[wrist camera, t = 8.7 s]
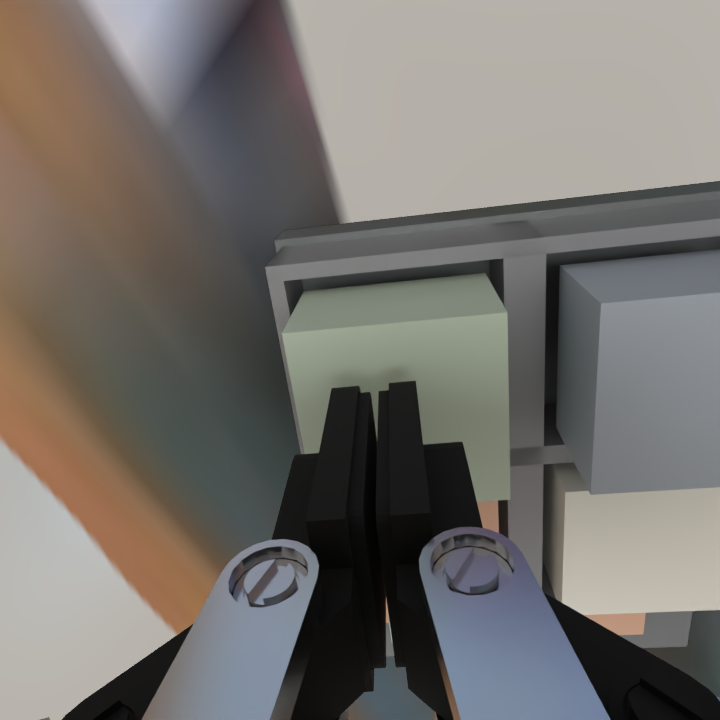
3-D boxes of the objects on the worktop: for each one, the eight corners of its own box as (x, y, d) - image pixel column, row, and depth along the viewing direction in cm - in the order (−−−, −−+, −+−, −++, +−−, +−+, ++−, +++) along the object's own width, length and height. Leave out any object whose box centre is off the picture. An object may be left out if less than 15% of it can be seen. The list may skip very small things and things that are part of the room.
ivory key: (690, 422, 17) (746, 481, 15) (674, 538, 19) (721, 609, 16) (539, 433, 18) (565, 492, 15) (538, 545, 20) (561, 615, 17)
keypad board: (729, 180, 16) (823, 198, 12) (669, 614, 23) (718, 705, 19) (283, 230, 17) (255, 259, 14) (352, 625, 24) (345, 713, 20)
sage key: (485, 272, 14) (507, 312, 11) (490, 431, 16) (510, 499, 13) (303, 291, 14) (281, 333, 12) (329, 443, 16) (315, 511, 13)
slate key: (759, 245, 13) (855, 279, 10) (731, 414, 15) (807, 482, 12) (559, 265, 14) (601, 303, 11) (556, 427, 15) (590, 495, 13)
